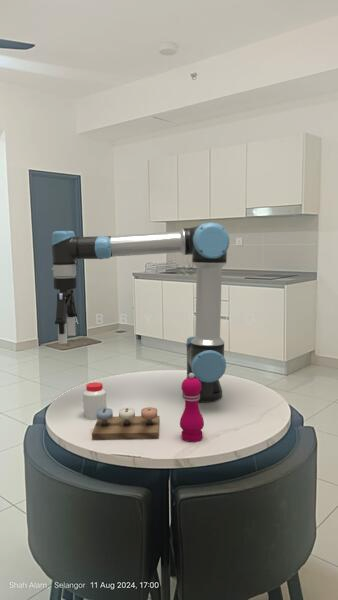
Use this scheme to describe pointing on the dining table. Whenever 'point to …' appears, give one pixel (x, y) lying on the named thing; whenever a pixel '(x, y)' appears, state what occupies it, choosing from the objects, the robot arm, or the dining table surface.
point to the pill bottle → (93, 400)
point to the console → (126, 429)
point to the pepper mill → (191, 410)
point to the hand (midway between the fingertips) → (67, 339)
